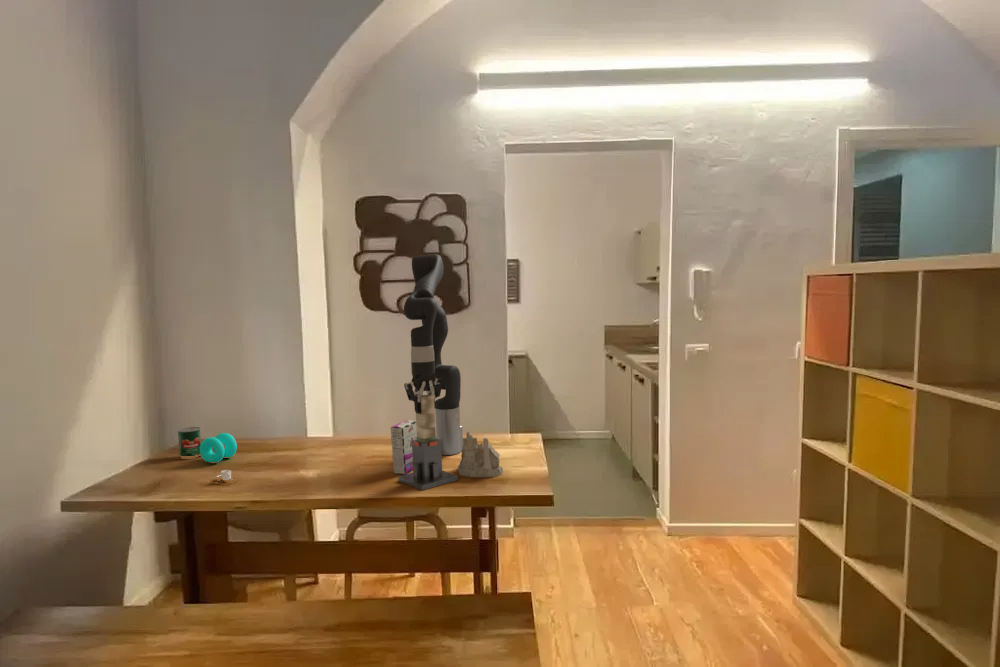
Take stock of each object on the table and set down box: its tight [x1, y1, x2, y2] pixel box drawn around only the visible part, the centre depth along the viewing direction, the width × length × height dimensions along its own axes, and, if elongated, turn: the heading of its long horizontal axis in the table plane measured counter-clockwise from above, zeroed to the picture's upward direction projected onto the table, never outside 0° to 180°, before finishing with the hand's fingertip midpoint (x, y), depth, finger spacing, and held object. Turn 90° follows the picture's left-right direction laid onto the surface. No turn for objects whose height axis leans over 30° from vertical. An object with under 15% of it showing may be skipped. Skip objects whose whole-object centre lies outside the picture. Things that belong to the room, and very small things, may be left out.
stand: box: [397, 439, 459, 491], centre depth 213 cm, size 14×14×14 cm
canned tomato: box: [177, 426, 202, 456], centre depth 254 cm, size 8×8×11 cm
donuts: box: [200, 432, 238, 463], centre depth 247 cm, size 10×10×10 cm
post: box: [415, 393, 436, 443], centre depth 213 cm, size 5×5×20 cm
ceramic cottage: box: [457, 430, 504, 478], centre depth 224 cm, size 16×16×15 cm
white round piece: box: [215, 469, 232, 480], centre depth 221 cm, size 9×8×4 cm
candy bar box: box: [390, 419, 417, 475], centre depth 227 cm, size 11×5×16 cm, turn 160°
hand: (425, 411), depth 212 cm, fingers closed on post, 4 cm apart
